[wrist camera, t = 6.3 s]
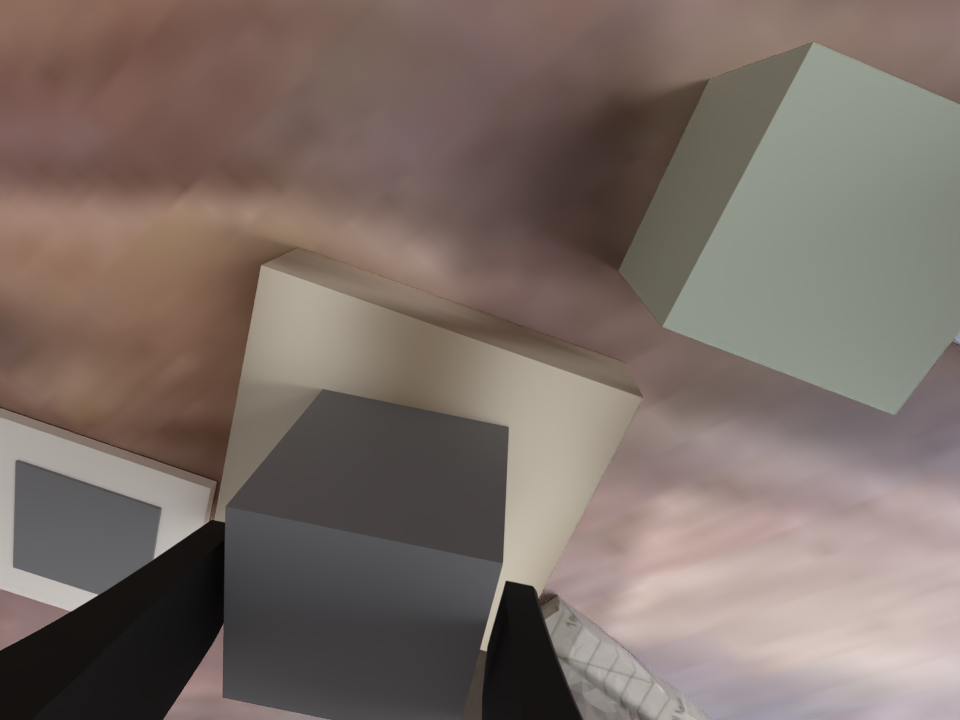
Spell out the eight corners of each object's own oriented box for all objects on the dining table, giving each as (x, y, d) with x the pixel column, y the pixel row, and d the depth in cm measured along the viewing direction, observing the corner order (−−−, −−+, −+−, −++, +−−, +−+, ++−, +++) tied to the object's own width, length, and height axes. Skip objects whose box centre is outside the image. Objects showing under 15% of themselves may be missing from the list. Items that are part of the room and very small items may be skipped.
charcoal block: (509, 427, 14) (503, 563, 9) (473, 571, 16) (454, 744, 11) (322, 388, 14) (225, 506, 9) (310, 537, 16) (223, 697, 11)
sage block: (891, 155, 13) (1090, 160, 9) (779, 332, 15) (895, 415, 10) (708, 79, 13) (813, 42, 8) (617, 270, 15) (662, 326, 10)
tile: (216, 481, 18) (209, 490, 18) (185, 636, 21) (177, 647, 21) (-16, 402, 18) (-30, 409, 17) (-15, 573, 21) (-27, 582, 20)
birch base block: (621, 355, 16) (643, 398, 14) (508, 586, 20) (507, 657, 17) (306, 243, 16) (261, 265, 13) (250, 504, 19) (206, 564, 17)
